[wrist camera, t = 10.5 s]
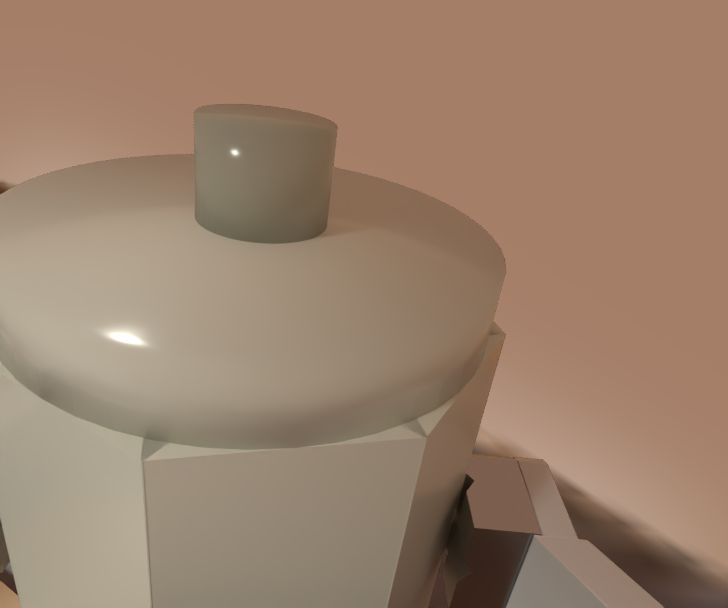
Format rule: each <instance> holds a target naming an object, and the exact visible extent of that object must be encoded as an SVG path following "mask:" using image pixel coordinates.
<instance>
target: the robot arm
mask: <svg viewBox="0 0 728 608" xmlns="http://www.w3.org/2000/svg"><path fill="white" fill-rule="evenodd" d="M444 553H445V555H446V556H447V558H446V562H445V566H444V569H443V577H444V583H445V590H446V597H447V603H448V608H664V607H663V606H662V605H661V604H660V603H659V602H657V601H656V600H655V599H654V598H653V597H652V596H651V595H649V594H648V593H647V592H646V591H645V590H644V589H643V588H642V587H640V586H639V585H638V584H637V583H636V582H635V581H634V580H632V579H631V578H630V577H629V576H628V575H627V574H626V573H624V572H623V571H622V570H621V569H620V568H619V567H618V566H617V565H615V564H614V563H613V562H612V561H611V560H610V559H609V558H607V557H606V556H605V555H604V554H603V553H602V552H601V551H600V550H598V549H597V548H596V547H595V546H594V545H593V544H592V543H590V542H589V541H588V540H582V539H578V537H577V534H576V532H575V529H574V527H573V525H572V522H571V520H570V517H569V515H568V512H567V510H566V508H565V505H564V503H563V500H562V498H561V496H560V493H559V491H558V488H557V486H556V483H555V481H554V479H553V476H552V474H551V471H550V469H549V467H548V464H547V463H546V462H545V461H544V460H542V459H529V458H517V457H513V458H510V457H500V456H490V455H479V454H472V455H471V458H470V462H469V465H468V469H467V472H466V476H465V479H464V483H463V486H462V490H461V493H460V497H459V500H458V504H457V507H456V511H455V514H454V518H453V521H452V525H451V528H450V532H449V535H448V539H447V542H446V546H445V549H444ZM9 562H10V559H9V555H8V550H7V546H6V542H5V537H4V533H3V529H2V524H1V520H0V573H2V572H3V571H4V569H5V568H6V566H7V565H8V563H9Z"/></svg>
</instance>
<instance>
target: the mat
mask: <svg viewBox="0 0 728 608" xmlns="http://www.w3.org/2000/svg"><path fill="white" fill-rule="evenodd" d="M0 608H21V607H20V602H19V598H18V595H17V594H15V593H14V592H13V591H12V590H11V589H10V588H8V587H7V586H6V585H5V584H4V583H3V582H1V581H0Z"/></svg>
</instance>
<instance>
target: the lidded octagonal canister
mask: <svg viewBox="0 0 728 608" xmlns="http://www.w3.org/2000/svg"><path fill="white" fill-rule="evenodd" d="M337 129H338V127H337V125H336V124H335V123H334V122H332V121H331V120H328V119H326V118H323V117H320V116H317V115H314V114H310V113H306V112H301V111H296V110H291V109H285V108H279V107H271V106H262V105H249V104H216V105H207V106H202V107H199V108H197V109H196V110H195V111H194V154H176V155H175V154H174V155H153V156H140V157H130V158H120V159H113V160H106V161H99V162H94V163H88V164H83V165H78V166H73V167H69V168H65V169H62V170H58V171H54V172H50V173H47V174H44V175H42V176H39V177H36V178H33V179H30V180H28V181H25V182H23V183H21V184H19V185H16V186H14V187H12V188H10V189H9V190H7V191H5V192H4V193H2V194H0V520H1V524H2V529H3V533H4V537H5V542H6V546H7V550H8V555H9V559H10V563H11V568H12V572H13V576H14V581H15V585H16V589H17V594H18V598H19V602H20V607H21V608H428V605H429V602H430V598H431V595H432V591H433V588H434V584H435V581H436V577H437V574H438V570H439V567H440V563H441V560H442V556H443V553H444V549H445V546H446V542H447V539H448V535H449V532H450V528H451V525H452V521H453V518H454V514H455V511H456V507H457V504H458V500H459V497H460V493H461V490H462V486H463V483H464V479H465V476H466V472H467V469H468V465H469V462H470V458H471V455H472V451H473V448H474V444H475V441H476V437H477V434H478V430H479V427H480V423H481V419H482V416H483V413H484V409H485V405H486V402H487V399H488V395H489V392H490V388H491V384H492V381H493V377H494V374H495V370H496V367H497V363H498V360H499V356H500V353H501V350H502V346H503V342H504V339H505V335H506V334H505V333H504V332H503V331H502V330H501V329H500V328H499V327H498V326H497V324H496V323H495V322H494V321H493V319H494V315H495V312H496V308H497V304H498V300H499V296H500V293H501V289H502V286H503V282H504V278H505V274H506V264H505V258H504V256H503V253H502V251H501V248H500V247H499V245H498V244H497V243H496V241H495V240H494V239H493V237H492V236H491V235H490V234H489V233H488V232H487V231H486V230H485V229H484V228H483V227H482V226H481V225H479V224H478V223H477V222H475V221H474V220H472V219H471V218H470V217H469V216H467V215H465V214H464V213H462V212H460V211H458V210H457V209H455V208H454V207H452V206H450V205H448V204H446V203H444V202H442V201H440V200H438V199H436V198H433V197H431V196H429V195H426V194H424V193H421V192H419V191H417V190H414V189H411V188H408V187H405V186H403V185H400V184H397V183H393V182H390V181H387V180H384V179H380V178H377V177H373V176H369V175H365V174H362V173H357V172H353V171H348V170H344V169H339V168H335V167H333V166H334V157H335V148H336V138H337Z"/></svg>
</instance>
